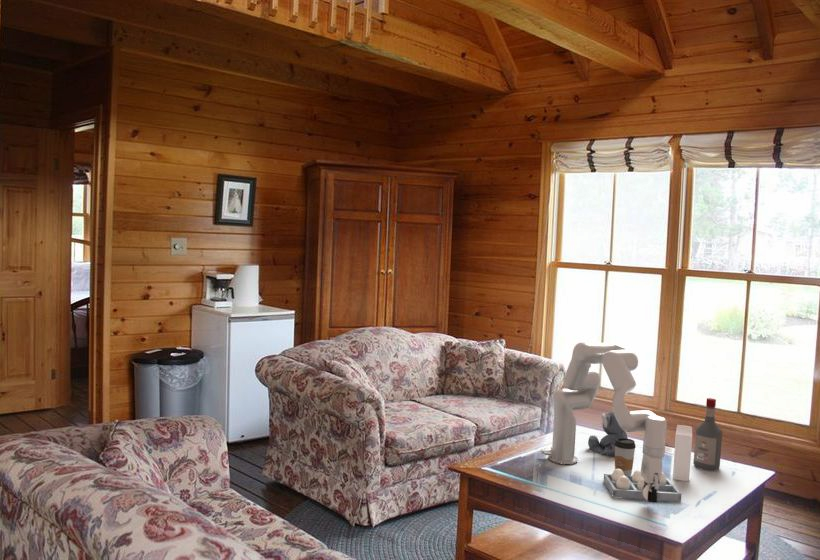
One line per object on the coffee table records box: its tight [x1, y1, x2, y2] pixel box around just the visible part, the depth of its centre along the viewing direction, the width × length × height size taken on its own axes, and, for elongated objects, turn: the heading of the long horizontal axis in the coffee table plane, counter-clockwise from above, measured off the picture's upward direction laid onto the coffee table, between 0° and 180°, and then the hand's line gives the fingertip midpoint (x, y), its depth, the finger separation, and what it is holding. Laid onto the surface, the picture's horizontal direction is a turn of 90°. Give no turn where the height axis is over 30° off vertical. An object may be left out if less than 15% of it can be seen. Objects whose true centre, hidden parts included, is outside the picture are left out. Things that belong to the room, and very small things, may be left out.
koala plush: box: [587, 411, 629, 457], centre depth 315 cm, size 17×18×20 cm
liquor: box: [693, 397, 723, 472], centre depth 300 cm, size 9×9×30 cm
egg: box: [643, 484, 658, 501], centre depth 253 cm, size 5×5×6 cm
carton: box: [603, 468, 683, 502], centre depth 269 cm, size 25×17×7 cm
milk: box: [672, 424, 693, 482], centre depth 285 cm, size 6×6×22 cm
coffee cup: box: [614, 438, 636, 476], centre depth 285 cm, size 8×8×15 cm
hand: (649, 498), depth 253 cm, fingers closed on egg, 5 cm apart
